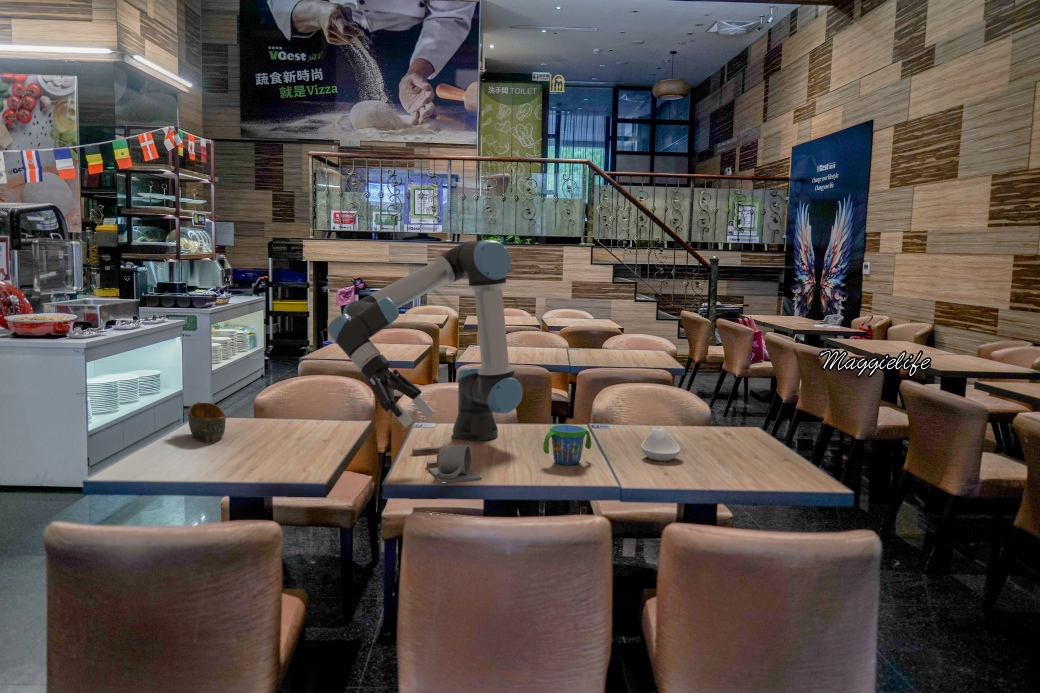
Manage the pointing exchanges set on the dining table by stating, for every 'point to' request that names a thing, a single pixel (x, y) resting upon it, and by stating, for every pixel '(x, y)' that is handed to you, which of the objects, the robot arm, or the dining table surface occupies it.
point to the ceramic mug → (454, 460)
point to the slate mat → (461, 477)
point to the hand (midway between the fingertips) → (420, 419)
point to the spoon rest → (660, 446)
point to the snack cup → (567, 443)
